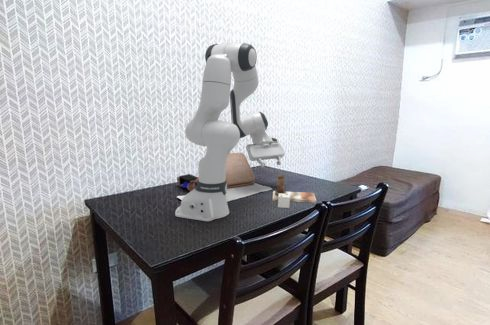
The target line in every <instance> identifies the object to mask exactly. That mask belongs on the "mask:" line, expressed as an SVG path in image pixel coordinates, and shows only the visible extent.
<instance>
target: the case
mask: <svg viewBox="0 0 490 325" xmlns="http://www.w3.org/2000/svg"><path fill="white" fill-rule="evenodd" d="M255 180H256V176H255V174H254V171H253V170H252V166H251V165H250V163H249V161H248V159H247V157H246V155H245V154H244V153H243V152H230V153H229V155H228V158H227V161H226V181H227V189H230V188H231V189H232V188H236V187H237V188H238V187H243V186H244V187H245V186H249V185H254V184H255Z"/></svg>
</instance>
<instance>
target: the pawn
mask: <svg viewBox="0 0 490 325" xmlns="http://www.w3.org/2000/svg"><path fill="white" fill-rule="evenodd" d="M285 182H286V180H285V176H284V174H282V173H280V174H278V175H277V178H276V190H274V191H275V195H277V196H279V193H282V194H286V192H285Z"/></svg>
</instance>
